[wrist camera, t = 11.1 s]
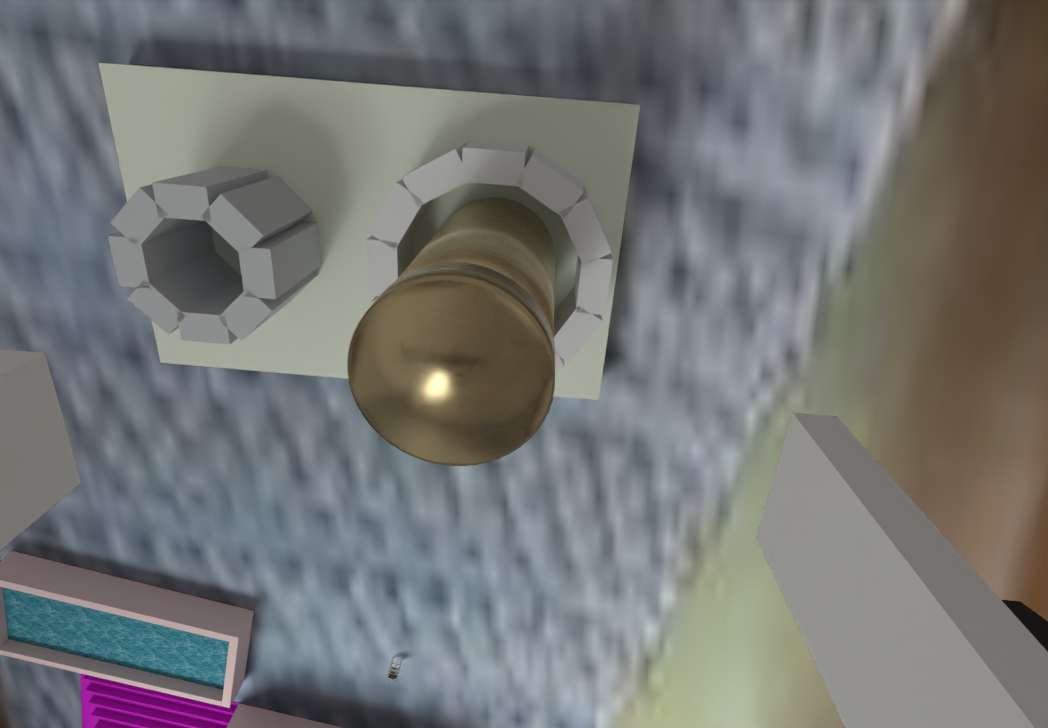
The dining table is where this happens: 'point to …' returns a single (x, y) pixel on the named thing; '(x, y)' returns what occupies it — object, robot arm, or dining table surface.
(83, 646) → the model house
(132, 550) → the dining table surface
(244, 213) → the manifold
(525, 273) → the cylinder
